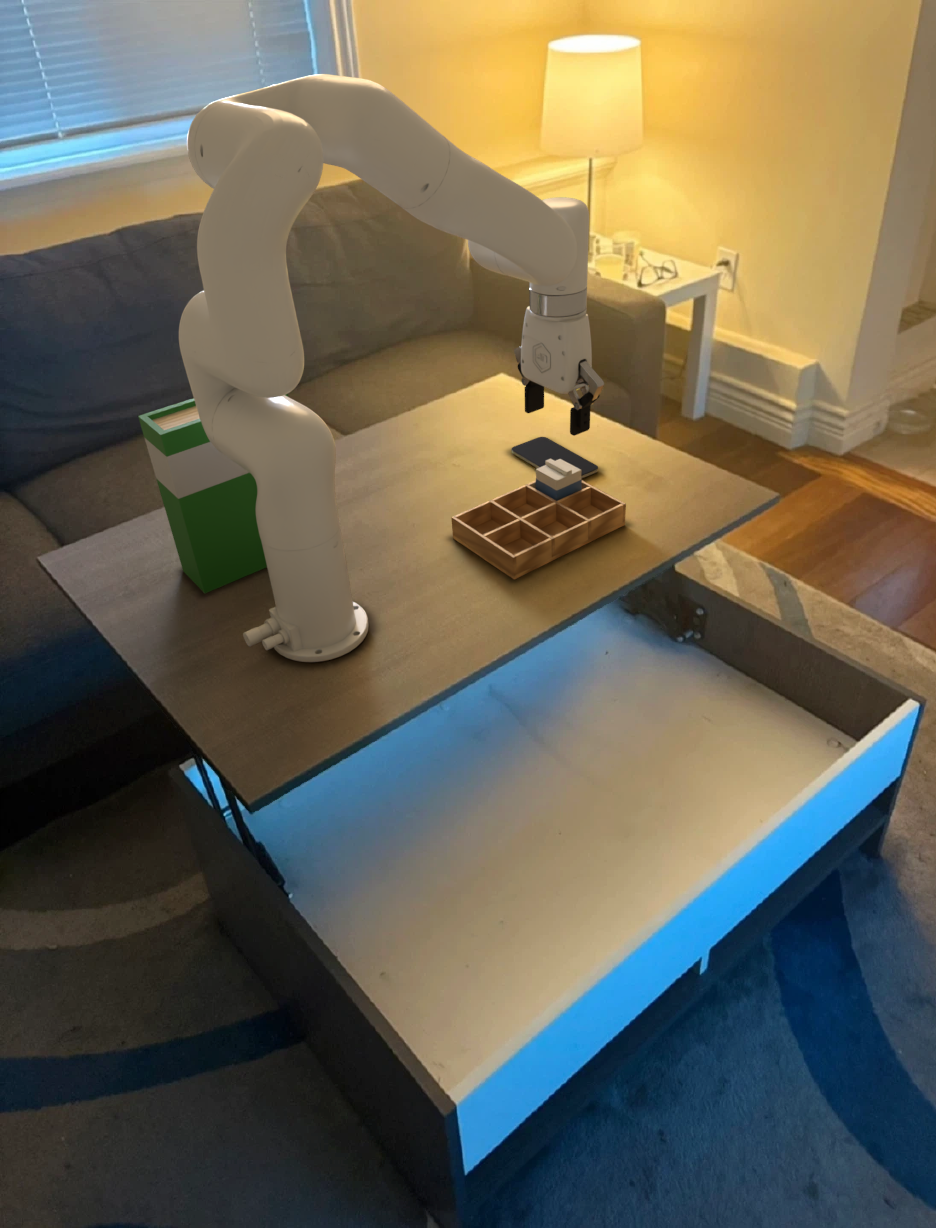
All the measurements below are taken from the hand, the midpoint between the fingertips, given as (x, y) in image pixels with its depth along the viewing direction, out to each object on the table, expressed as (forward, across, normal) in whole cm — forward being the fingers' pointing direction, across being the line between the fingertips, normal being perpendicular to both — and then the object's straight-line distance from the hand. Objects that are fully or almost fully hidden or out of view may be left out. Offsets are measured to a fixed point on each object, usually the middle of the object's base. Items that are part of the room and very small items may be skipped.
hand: (556, 421), depth 135 cm
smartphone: (+14, -11, +9) cm, 20 cm away
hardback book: (+15, -19, -42) cm, 48 cm away
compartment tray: (+14, +3, -6) cm, 16 cm away
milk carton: (+13, 0, +1) cm, 13 cm away
